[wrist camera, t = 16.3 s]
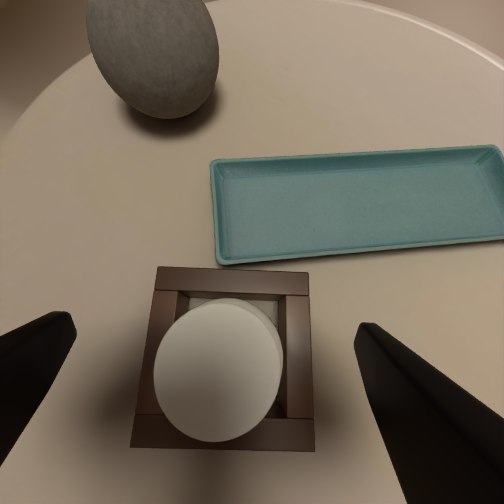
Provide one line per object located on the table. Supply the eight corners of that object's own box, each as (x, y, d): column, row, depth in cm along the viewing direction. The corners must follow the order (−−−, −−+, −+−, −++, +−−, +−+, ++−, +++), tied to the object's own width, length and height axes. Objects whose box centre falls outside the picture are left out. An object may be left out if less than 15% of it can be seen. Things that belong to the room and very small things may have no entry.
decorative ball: (223, 68, 27) (212, -75, 17) (223, 143, 24) (209, 19, 14) (130, 67, 27) (67, -80, 17) (118, 143, 24) (33, 16, 14)
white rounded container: (285, 358, 18) (330, 389, 9) (219, 409, 17) (189, 508, 8) (242, 294, 20) (241, 261, 10) (178, 338, 18) (110, 346, 9)
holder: (301, 428, 17) (315, 452, 14) (151, 424, 17) (129, 448, 13) (297, 281, 20) (308, 272, 17) (171, 276, 20) (157, 265, 16)
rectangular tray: (477, 157, 24) (502, 139, 22) (516, 244, 22) (550, 233, 19) (212, 176, 23) (209, 158, 20) (219, 272, 20) (215, 265, 18)
